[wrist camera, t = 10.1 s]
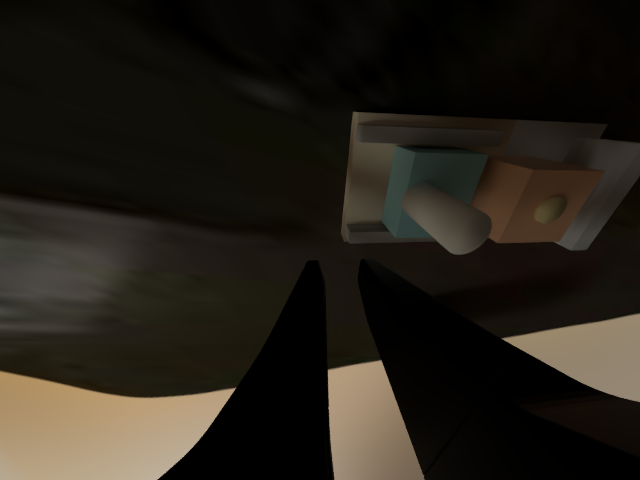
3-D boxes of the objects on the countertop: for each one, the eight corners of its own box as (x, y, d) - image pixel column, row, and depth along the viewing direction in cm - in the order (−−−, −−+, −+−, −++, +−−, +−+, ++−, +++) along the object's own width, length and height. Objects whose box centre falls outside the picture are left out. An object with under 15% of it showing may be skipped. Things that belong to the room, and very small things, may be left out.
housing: (474, 154, 18) (538, 171, 13) (530, 156, 18) (610, 172, 14) (453, 214, 20) (501, 245, 16) (503, 213, 21) (564, 243, 16)
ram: (393, 145, 17) (467, 172, 10) (458, 147, 17) (572, 173, 10) (379, 221, 20) (428, 282, 13) (435, 220, 20) (512, 278, 13)
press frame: (353, 112, 17) (379, 113, 12) (586, 123, 19) (684, 128, 14) (341, 233, 22) (356, 268, 17) (527, 229, 24) (586, 259, 19)
